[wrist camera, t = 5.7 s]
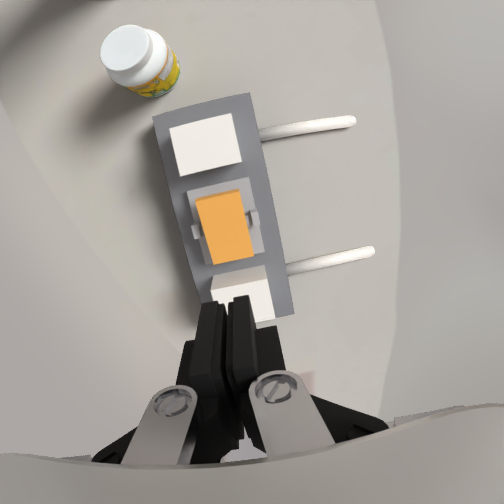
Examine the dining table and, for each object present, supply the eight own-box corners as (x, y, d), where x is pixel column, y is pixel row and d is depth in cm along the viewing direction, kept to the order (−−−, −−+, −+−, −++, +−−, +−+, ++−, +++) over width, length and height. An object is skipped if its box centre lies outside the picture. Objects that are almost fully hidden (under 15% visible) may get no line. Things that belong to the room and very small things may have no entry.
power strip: (160, 119, 29) (140, 112, 23) (345, 84, 28) (369, 70, 22) (211, 316, 36) (206, 349, 29) (374, 280, 35) (397, 306, 29)
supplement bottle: (189, 57, 27) (170, 22, 18) (170, 104, 28) (142, 86, 19) (142, 46, 26) (108, 13, 17) (123, 92, 28) (82, 73, 18)
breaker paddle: (194, 197, 26) (192, 202, 25) (241, 186, 26) (241, 191, 25) (212, 257, 29) (211, 265, 28) (255, 248, 29) (256, 255, 28)
